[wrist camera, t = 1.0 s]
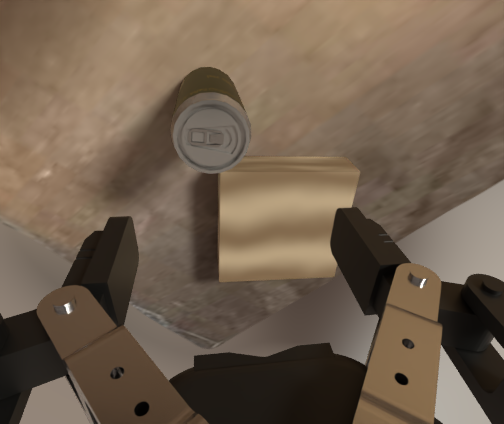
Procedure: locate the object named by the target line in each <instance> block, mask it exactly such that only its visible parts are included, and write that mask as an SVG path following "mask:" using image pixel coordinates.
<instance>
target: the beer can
mask: <svg viewBox="0 0 504 424" xmlns="http://www.w3.org/2000/svg"><path fill="white" fill-rule="evenodd" d="M170 133H171V139H172V143H173V145H174V147H175V149H176V151H177V153H178V155H179V157H180V158H181V159H182V160H183V161H184V162H185V163H186V164H187V165H188V166H189V167H191V168H193V169H195V170H197V171H198V172H203V173H208V174H213V173H222V172H224V171H227V170H230V169H232V168H233V167H234V166H236V165H237V164H238V163H239V162H240V161H241V160H242V158H243V157H244V156H245V154H246V153H247V149H248V146H249V143H250V139H251V124H250V122H249V119H248V116H247V113H246V111H245V109H244V106H243V104H242V102H241V99H240V97H239V95H238V92H237V90H236V88H235V85H234V83H233V82H232V80H231V79H230V78H229V76H228V75H227V74H225V73H224V72H222V71H221V70H219V69H216V68H212V67H201V68H198V69H196V70H194V71H192V72H190V73H189V74H188V75H187V76H186V77H185V78H184V80H183V82H182V84H181V86H180V90H179V94H178V98H177V101H176V105H175V109H174V113H173V117H172V123H171V129H170Z"/></svg>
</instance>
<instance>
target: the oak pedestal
mask: <svg viewBox="0 0 504 424" xmlns="http://www.w3.org/2000/svg"><path fill="white" fill-rule="evenodd" d="M359 175H360V171H359V170H358V169H357V168H356V167H355V166H354V165H353V164H352V163H351V162H350V161H349V160H348V159H347V158H346V157H291V156H244V157H243V158H242V160H241V161H240V162H239V163H238V164H237V165H236V166H234V167H233V168H232V169H230V170H227V171H224V172H222V173H218V274H219V282H235V281H257V280H278V279H300V278H321V277H334V275H335V271H336V267H337V262H336V260H335V258H334V257H333V255H332V252H331V248H330V239H331V233H332V228H333V223H334V218H335V213H336V210H337V209H338V208H351V207H352V203H353V199H354V195H355V191H356V187H357V183H358V179H359Z"/></svg>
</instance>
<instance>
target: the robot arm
mask: <svg viewBox="0 0 504 424" xmlns="http://www.w3.org/2000/svg"><path fill="white" fill-rule="evenodd" d="M330 248H331V252H332V255H333V257H334V258H335V260H336V262H337V264H338V266H339V268H340V270H341V272H342V273H343V275H344V277H345V279H346V281H347V283H348V284H349V287H350V288H351V290H352V292H353V294H354V296H355V298H356V300H357V301H358V303H359V305H360V307H361V309H362V311H363V313H364V314H365V315H374V314H377V315H378V317H379V321H378V324H377V327H376V330H375V333H374V337H373V340H372V343H371V346H370V350H369V353H368V356H367V360H366V363H365V365H364V364H362V363H360V362H358V361H356V360H354V359H352V358H349V357H346V356H342V355H339V354H334V353H333V351H332V348H331V346H330V343H321V344H311V345H301V346H296V347H293V348H290V349H287V350H284V351H282V352H279V353H276V354H273V355H271V356H268V357H258V356H251V355H244V354H236V353H219V354H208V355H197V356H194V367H193V368H190V369H187V370H185V371H183V372H181V373H179V374H178V375H176V376H174V377H173V378H171V379H170V380H169V381H168V380H167V378H166V377H165V376H164V374H163V373H162V372H161V371H160V369H159V368H158V367H157V366H156V365H155V363H154V362H153V361H152V360H151V358H150V357H149V356H148V355H147V353H146V352H145V351H144V350H143V348H142V347H141V346H140V345H139V343H138V342H137V341H136V340H135V338H134V337H133V336H132V335H131V333H130V332H129V331H128V330H127V329H126V327H125V326H124V322H125V318H126V313H127V310H128V305H129V301H130V297H131V293H132V289H133V284H134V280H135V276H136V272H137V267H138V261H139V253H138V246H137V240H136V235H135V230H134V224H133V220H132V217H131V216H124V217H110V218H109V219H108V221H107V224H106V226H105V228H104V231H94V232H93V233H92V234H91V235H90V236H89V237H87V238H86V239H85V240H84V242H83V245H82V247H81V249H80V251H79V253H78V255H77V257H76V260H75V261H74V263H73V265H72V267H71V269H70V271H69V273H68V275H67V277H66V279H65V281H64V284H63V285H62V287H61V288H59V289H56V290H54V291H52V292H51V293H49V294H48V295H47V296H45V297H44V298H43V299H42V300H41V301H40V303H39V304H38V306H37V309H35V310H33V311H29V312H26V313H23V314H19V315H16V316H13V317H9V318H6V319H3V317H2V316H1V314H0V424H19V423H20V420H21V417H22V415H23V412H24V409H25V407H26V404H27V401H28V398H29V396H30V393H31V390H32V388H33V387H36V386H39V385H42V384H44V383H47V382H50V381H52V380H55V379H57V378H60V377H63V376H65V378H66V380H67V381H68V383H69V385H70V387H71V389H72V391H73V392H74V394H75V396H76V398H77V400H78V402H79V403H80V405H81V407H82V409H83V411H84V413H85V415H86V416H87V418H88V420H89V422H90V424H443V423H441V422H440V421H439V420H437V419H436V418H435V417H434V414H435V403H436V392H437V380H438V370H439V360H440V348H441V345H442V347H443V348H444V350H445V352H446V353H447V354H448V356H449V358H450V359H451V361H452V362H453V364H454V365H455V367H456V369H457V370H458V372H459V373H460V375H461V376H462V378H463V380H464V381H465V383H466V384H467V386H468V387H469V389H470V390H471V392H472V394H473V395H474V397H475V398H476V400H477V401H478V403H479V404H480V406H481V408H482V409H483V411H484V412H485V414H486V415H487V417H488V419H489V420H490V422H491V423H492V424H504V360H503V358H502V357H501V356H500V355H499V353H498V352H497V351H496V350H495V348H494V347H493V346H492V344H491V341H492V340H493V338H494V337H495V339H496V340H497V341H498V342H499V344H500V345H501V346H502V347H503V348H504V282H503V281H501V280H499V279H497V278H494V277H491V276H489V275H484V274H474V275H471V276H469V277H468V279H467V280H466V282H465V284H464V285H462V284H455V283H449V282H443V281H441V280H440V278H439V277H438V276H437V274H435V273H434V272H433V271H432V270H430V269H428V268H426V267H424V266H422V265H419V264H414V263H411V262H410V261H409V260H408V258H407V257H406V256H405V255H404V254H403V252H402V251H401V250H400V249H399V248H398V246H397V245H396V244H395V243H394V242H393V240H392V239H391V238H390V236H389V235H387V233H386V232H385V230H384V229H383V228H382V227H381V226H380V225H379V224H377V223H376V222H374V221H373V220H371V219H366V218H365V216H364V215H363V214H362V213H361V211H360V210H359V209H358V208H357V207H351V208H338V209H337V210H336V213H335V218H334V223H333V228H332V233H331V239H330Z"/></svg>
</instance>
